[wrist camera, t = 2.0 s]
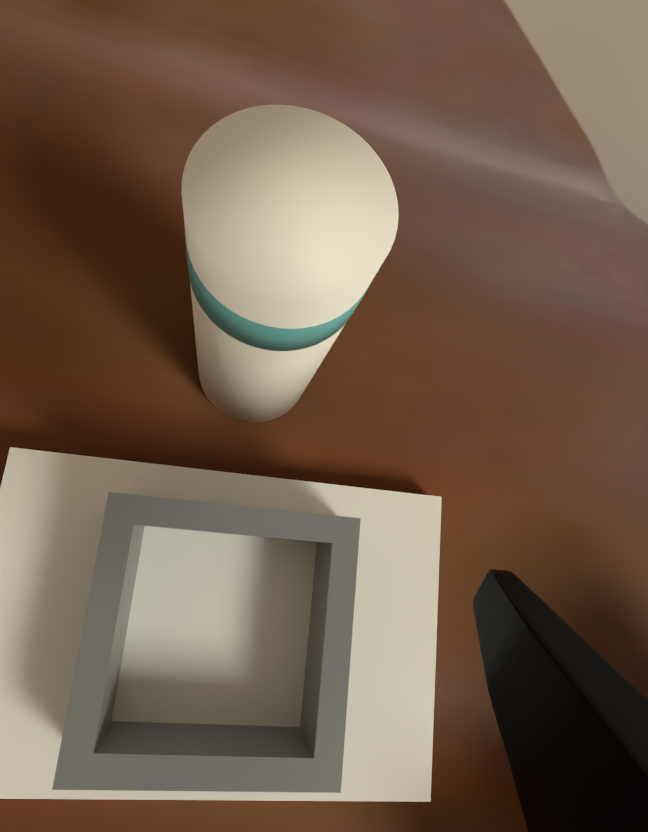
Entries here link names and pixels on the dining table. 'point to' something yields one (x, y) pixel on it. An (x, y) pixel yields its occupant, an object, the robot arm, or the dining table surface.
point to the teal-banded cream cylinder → (279, 250)
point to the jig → (213, 635)
